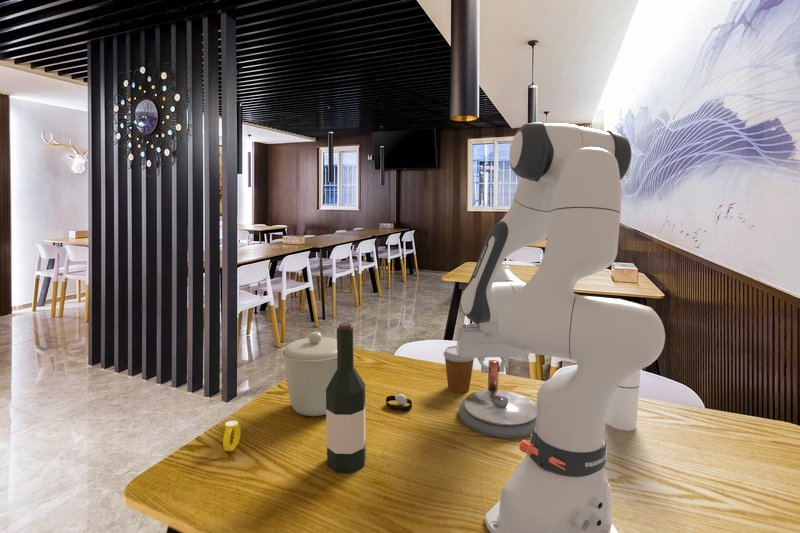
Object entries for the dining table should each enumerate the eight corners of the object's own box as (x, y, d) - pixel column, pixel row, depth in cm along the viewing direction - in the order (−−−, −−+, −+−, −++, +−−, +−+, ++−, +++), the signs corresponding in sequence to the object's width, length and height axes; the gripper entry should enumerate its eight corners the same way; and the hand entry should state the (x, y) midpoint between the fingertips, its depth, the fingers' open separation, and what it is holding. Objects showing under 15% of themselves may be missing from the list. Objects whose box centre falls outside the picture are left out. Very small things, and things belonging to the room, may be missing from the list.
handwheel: (548, 426, 101) (550, 387, 100) (471, 426, 101) (472, 388, 100) (523, 392, 120) (525, 359, 119) (459, 392, 120) (459, 360, 119)
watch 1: (232, 442, 99) (231, 417, 98) (243, 442, 99) (243, 417, 98) (220, 454, 93) (219, 428, 92) (232, 455, 93) (232, 428, 92)
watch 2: (415, 407, 116) (415, 394, 116) (407, 414, 112) (407, 401, 112) (390, 401, 120) (390, 389, 119) (382, 408, 116) (382, 395, 115)
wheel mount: (505, 448, 96) (505, 439, 96) (442, 413, 113) (442, 405, 112) (559, 421, 108) (560, 413, 108) (495, 393, 125) (496, 386, 125)
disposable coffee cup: (437, 385, 131) (437, 347, 129) (463, 380, 135) (464, 343, 133) (453, 397, 122) (454, 357, 121) (481, 391, 126) (482, 352, 125)
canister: (314, 431, 103) (312, 347, 100) (268, 410, 114) (265, 334, 111) (364, 404, 117) (363, 330, 115) (319, 388, 128) (317, 320, 126)
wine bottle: (323, 455, 93) (320, 321, 89) (360, 448, 96) (359, 317, 92) (331, 477, 85) (328, 331, 81) (371, 468, 88) (370, 327, 84)
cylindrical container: (628, 417, 111) (635, 323, 108) (641, 431, 104) (649, 331, 101) (600, 415, 111) (606, 322, 108) (610, 429, 104) (617, 330, 101)
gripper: (459, 326, 112) (458, 377, 114) (534, 325, 114) (532, 374, 116) (454, 320, 118) (453, 368, 120) (525, 319, 120) (523, 366, 122)
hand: (492, 371), depth 118 cm, fingers open, 3 cm apart
